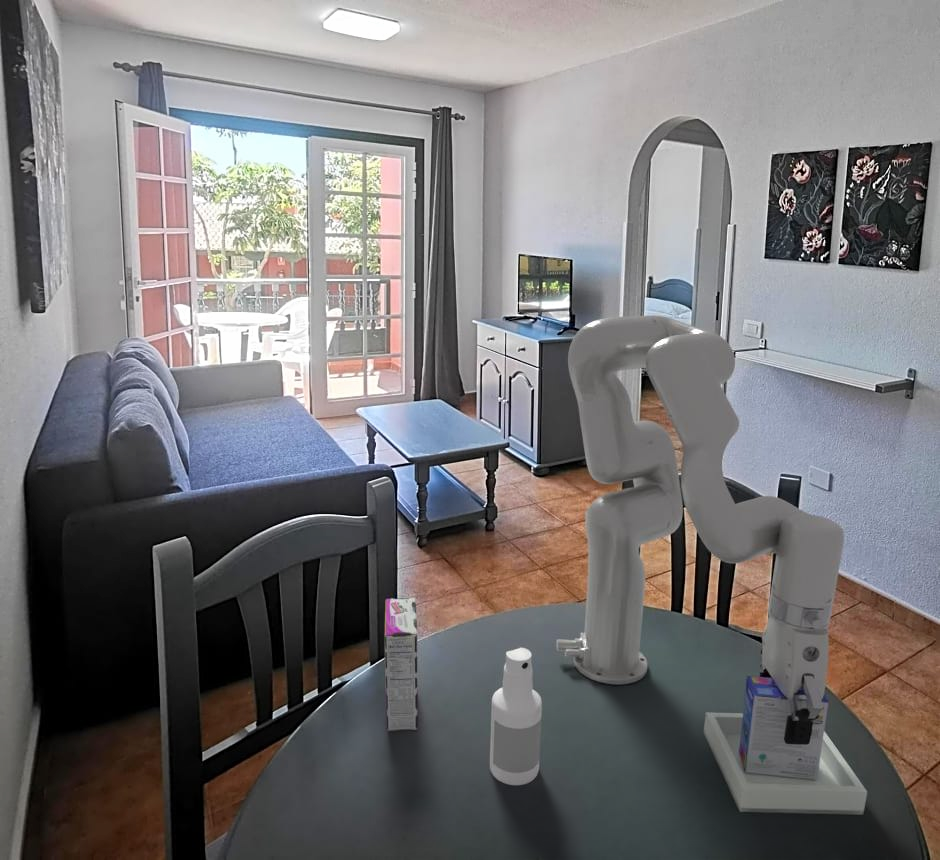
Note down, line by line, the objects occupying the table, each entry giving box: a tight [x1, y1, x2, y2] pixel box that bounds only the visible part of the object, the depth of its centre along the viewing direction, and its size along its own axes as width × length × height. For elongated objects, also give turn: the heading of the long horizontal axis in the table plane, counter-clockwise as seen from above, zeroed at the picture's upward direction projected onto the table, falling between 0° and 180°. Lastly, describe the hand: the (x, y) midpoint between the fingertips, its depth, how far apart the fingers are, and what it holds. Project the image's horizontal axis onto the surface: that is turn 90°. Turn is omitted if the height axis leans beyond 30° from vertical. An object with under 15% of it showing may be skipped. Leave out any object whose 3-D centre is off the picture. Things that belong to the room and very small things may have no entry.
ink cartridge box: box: [739, 675, 830, 780], centre depth 103 cm, size 10×6×14 cm, turn 83°
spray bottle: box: [489, 647, 543, 786], centre depth 101 cm, size 7×7×18 cm
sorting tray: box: [703, 711, 868, 816], centre depth 104 cm, size 16×16×4 cm
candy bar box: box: [384, 597, 419, 732], centre depth 114 cm, size 11×5×16 cm, turn 6°
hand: (781, 719), depth 103 cm, fingers open, 9 cm apart
